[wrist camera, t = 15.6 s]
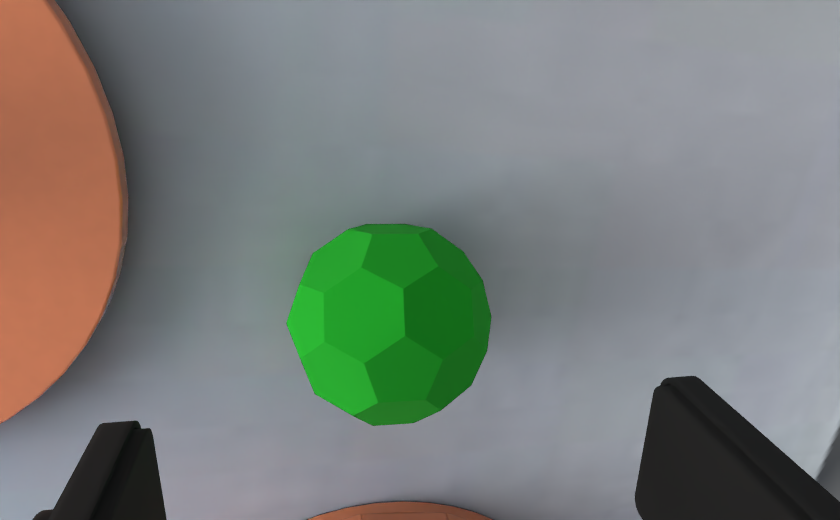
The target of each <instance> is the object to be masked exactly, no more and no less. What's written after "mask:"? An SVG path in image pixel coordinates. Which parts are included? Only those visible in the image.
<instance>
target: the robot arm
mask: <svg viewBox="0 0 840 520" xmlns="http://www.w3.org/2000/svg"><path fill="white" fill-rule="evenodd" d="M635 504H636V508H637V510H638V513H639V515H640V516H641V518H642V519H643V520H840V502H839V501H838V500H837V499H836V498H835V497H833V496H832V495H831V494H830V493H829V492H828V491H827V490H826V489H824V488H823V487H822V486H821V485H820V484H819V483H818V482H816V481H815V480H814V479H813V478H812V477H811V476H810V475H808V474H807V473H806V472H805V471H804V470H803V469H802V468H801V467H799V466H798V465H797V464H796V463H795V462H794V461H793V460H791V459H790V458H789V457H788V456H787V455H786V454H785V453H783V452H782V451H781V450H780V449H779V448H778V447H777V446H775V445H774V444H773V443H772V442H771V441H770V440H769V439H768V438H766V437H765V436H764V435H763V434H762V433H761V432H760V431H758V430H757V429H756V428H755V427H754V426H753V425H752V424H750V423H749V422H748V421H747V420H746V419H745V418H744V417H742V416H741V415H740V414H739V413H738V412H737V411H736V410H735V409H733V408H732V407H731V406H730V405H729V404H728V403H727V402H725V401H724V400H723V399H722V398H721V397H720V396H719V395H717V394H716V393H715V392H714V391H713V390H712V389H711V388H710V387H708V386H707V385H706V384H705V383H704V382H703V381H702V380H700V379H699V378H697V377H696V376H685V377H672V378H666V379H664V380H663V381H662V383H661V385H660V386H658V387H656V388H655V390H654V393H653V398H652V403H651V409H650V414H649V420H648V426H647V431H646V437H645V442H644V448H643V453H642V459H641V464H640V470H639V475H638V481H637V486H636V492H635ZM33 520H166V514H165V508H164V501H163V495H162V489H161V483H160V477H159V470H158V464H157V458H156V452H155V446H154V439H153V434H152V431H151V429H150V428H146V429H141V426H140V424H139V422H138V421H125V422H112V423H102V424H100V425H99V426H98V428H97V429H96V431H95V433H94V435H93V437H92V439H91V440H90V442H89V444H88V446H87V448H86V450H85V452H84V453H83V455H82V457H81V459H80V461H79V463H78V465H77V466H76V468H75V470H74V472H73V474H72V476H71V478H70V479H69V481H68V483H67V485H66V487H65V489H64V491H63V492H62V494H61V496H60V498H59V500H58V502H57V504H56V505H55V507H54V509H53V510H43V511H41V512H39V513H38V514H36V516H35V517H34V518H33Z"/></svg>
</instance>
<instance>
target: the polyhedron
mask: <svg viewBox="0 0 840 520" xmlns="http://www.w3.org/2000/svg"><path fill="white" fill-rule="evenodd" d="M490 324H491V313H490V309H489V305H488V301H487V296H486V292H485V288H484V284H483V280H482V279H481V277H480V276H479V274H478V273H477V271H476V270H475V268H474V267H473V265H472V264H471V262H470V261H469V259H468V258H467V256H466V255H465V253H464V252H463V251H462V250H460V249H459V248H458V247H456V246H455V245H453V244H452V243H451V242H449V241H448V240H447V239H445V238H444V237H442V236H441V235H440V234H438V233H437V232H436V231H434V230H433V229H431V228H425V227H419V226H413V225H408V224H365V225H362V226H358V227H354V228H351V229H348V230H346V231H345V232H343V233H342V234H340V235H339V236H338V237H336V238H335V239H333V240H332V241H330V242H329V243H327V244H326V245H324V246H323V247H322V248H320V249H319V250H317V251H316V252H314V253H313V254H312V256H311V259H310V261H309V263H308V266H307V268H306V270H305V273H304V275H303V277H302V280H301V282H300V284H299V287H298V290H297V293H296V296H295V299H294V302H293V305H292V308H291V311H290V314H289V317H288V320H287V326H288V329H289V331H290V334H291V336H292V339H293V341H294V344H295V346H296V349H297V351H298V354H299V357H300V359H301V361H302V364H303V366H304V369H305V371H306V374H307V376H308V379H309V381H310V383H311V386H312V388H313V391H314V393H315V394H316V395H318V396H320V397H321V398H323V399H325V400H326V401H328V402H330V403H332V404H333V405H335V406H337V407H339V408H340V409H342V410H344V411H345V412H347V413H349V414H351V415H352V416H354V417H356V418H358V419H360V420H362V421H364V422H366V423H368V424H370V425H373V426H376V425H392V424H408V423H415V422H417V421H419V420H421V419H423V418H426V417H428V416H430V415H432V414H434V413H436V412H439V411H441V410H442V409H443V408H444V407H446V406H447V405H448V404H449V403H450V402H452V401H453V400H454V399H455V398H457V397H458V396H459V395H460V394H461V393H463V392H464V391H465V390H466V389H467V388H469V387H470V386H471V385H472V383H473V380H474V378H475V376H476V374H477V372H478V369H479V367H480V365H481V363H482V361H483V359H484V356H485V354H486V352H487V347H488V339H489V332H490Z"/></svg>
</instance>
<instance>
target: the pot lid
mask: <svg viewBox="0 0 840 520" xmlns="http://www.w3.org/2000/svg"><path fill="white" fill-rule="evenodd" d="M128 199H129V197H128V188H127V179H126V171H125V162H124V155H123V151H122V147H121V143H120V139H119V135H118V132H117V128H116V124H115V120H114V116H113V112H112V110H111V107H110V105H109V102H108V100H107V97H106V95H105V92H104V90H103V87H102V85H101V82H100V80H99V77H98V75H97V72H96V70H95V67H94V65H93V63H92V62H91V60H90V58H89V56H88V54H87V52H86V51H85V49H84V47H83V45H82V43H81V41H80V40H79V38H78V36H77V34H76V32H75V30H74V29H73V27H72V25H71V23H70V21H69V20H68V18H67V17H66V15H65V14H64V13H63V11H62V10H61V8H60V7H59V5H58V4H57V3H56V1H55V0H0V424H1V423H3V422H5V421H6V420H8V419H10V418H11V417H13V416H14V415H16V414H17V413H18V412H20V411H21V410H23V409H24V408H25V407H27V406H28V405H30V404H31V403H32V402H34V401H35V400H37V399H38V398H39V397H40V396H41V395H42V394H43V393H44V392H45V391H47V390H48V389H49V388H50V387H51V386H52V385H53V384H54V383H55V382H56V381H57V380H58V379H59V378H60V377H61V376H62V375H63V374H64V373H65V372H66V371H67V370H68V368H69V367H70V366H71V364H72V363H73V362H74V360H75V359H76V358H77V357H78V355H79V354H80V353H81V351H82V350H83V349H84V347H85V346H86V345H87V343H88V342H89V340H90V339H91V338H92V336H93V334H94V332H95V330H96V329H97V327H98V325H99V323H100V321H101V319H102V318H103V316H104V314H105V312H106V310H107V308H108V307H109V304H110V301H111V298H112V296H113V293H114V290H115V287H116V284H117V282H118V279H119V276H120V273H121V268H122V263H123V257H124V252H125V247H126V241H127V233H128Z"/></svg>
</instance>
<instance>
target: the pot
mask: <svg viewBox="0 0 840 520" xmlns="http://www.w3.org/2000/svg"><path fill="white" fill-rule="evenodd" d="M308 520H493V519H490V518H488V517H486V516H483V515H481V514H478V513H476V512H472V511H469V510H465V509H462V508H458V507H454V506H448V505H442V504H435V503H429V502H405V501H400V502H385V503H372V504H366V505H360V506H354V507H348V508H344V509H340V510H336V511H333V512H329V513H325V514H322V515H318V516H316V517H313V518H310V519H308Z"/></svg>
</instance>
